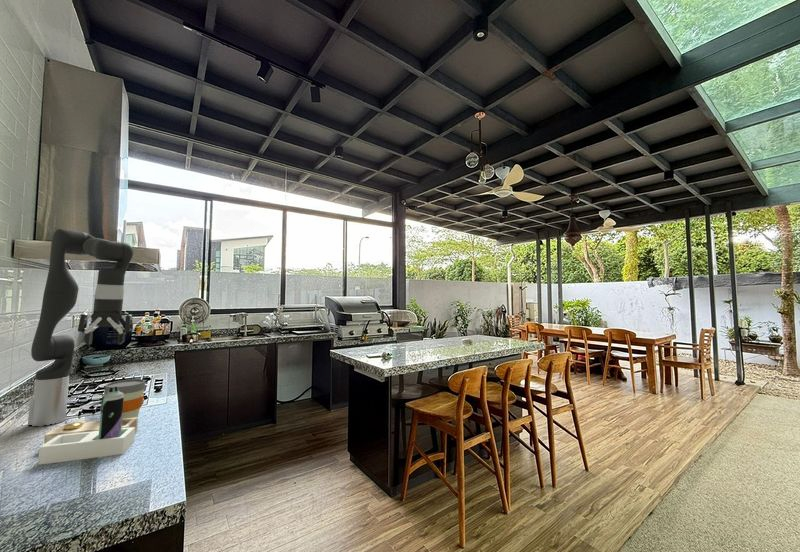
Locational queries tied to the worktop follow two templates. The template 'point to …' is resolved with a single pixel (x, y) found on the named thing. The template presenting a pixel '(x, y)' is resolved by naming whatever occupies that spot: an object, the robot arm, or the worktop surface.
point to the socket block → (88, 428)
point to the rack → (84, 446)
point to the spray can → (111, 414)
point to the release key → (73, 426)
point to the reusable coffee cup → (129, 395)
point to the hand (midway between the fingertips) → (104, 344)
